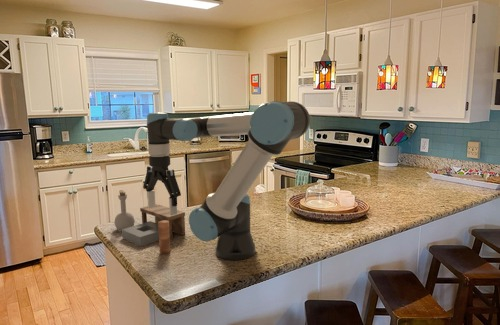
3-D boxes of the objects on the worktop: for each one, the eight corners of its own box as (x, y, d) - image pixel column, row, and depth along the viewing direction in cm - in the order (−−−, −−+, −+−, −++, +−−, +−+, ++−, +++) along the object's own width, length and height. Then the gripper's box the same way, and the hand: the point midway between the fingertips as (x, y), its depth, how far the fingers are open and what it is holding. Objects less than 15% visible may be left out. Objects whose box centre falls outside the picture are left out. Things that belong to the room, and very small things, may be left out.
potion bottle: (128, 224, 173) (125, 187, 170) (138, 228, 167) (136, 190, 164) (110, 229, 166) (107, 191, 163) (121, 233, 161) (118, 194, 158)
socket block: (169, 236, 156) (169, 227, 156) (140, 246, 146) (140, 237, 145) (150, 229, 165) (150, 221, 165) (122, 238, 155) (121, 229, 154)
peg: (172, 251, 141) (171, 221, 139) (164, 255, 138) (162, 224, 136) (166, 249, 143) (164, 219, 141) (157, 252, 140) (155, 222, 138)
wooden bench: (186, 234, 158) (184, 212, 157) (169, 240, 152) (168, 217, 151) (157, 224, 172) (156, 203, 171) (141, 229, 166) (140, 208, 164)
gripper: (189, 157, 129) (191, 215, 132) (148, 151, 145) (151, 202, 149) (172, 159, 123) (174, 220, 127) (131, 153, 140) (135, 206, 143)
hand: (162, 210), depth 138 cm, fingers open, 13 cm apart
